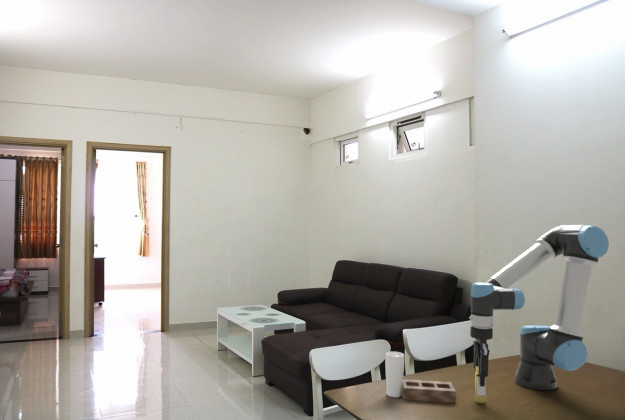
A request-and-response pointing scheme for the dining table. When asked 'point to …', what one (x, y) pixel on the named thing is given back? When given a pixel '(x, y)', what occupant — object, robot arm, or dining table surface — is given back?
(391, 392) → the drinking glass
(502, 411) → the dining table surface
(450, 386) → the hole block
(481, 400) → the peg
